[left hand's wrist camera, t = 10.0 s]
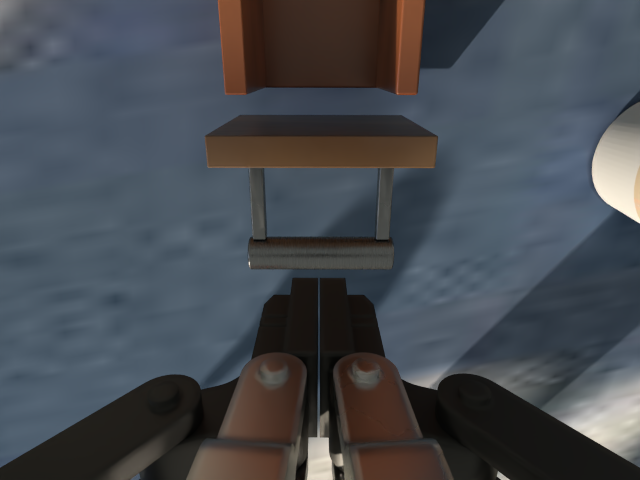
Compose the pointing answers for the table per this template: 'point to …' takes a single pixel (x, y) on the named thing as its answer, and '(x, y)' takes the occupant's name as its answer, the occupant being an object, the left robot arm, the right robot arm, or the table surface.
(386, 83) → the drawer
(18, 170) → the table surface
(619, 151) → the coffee cup
